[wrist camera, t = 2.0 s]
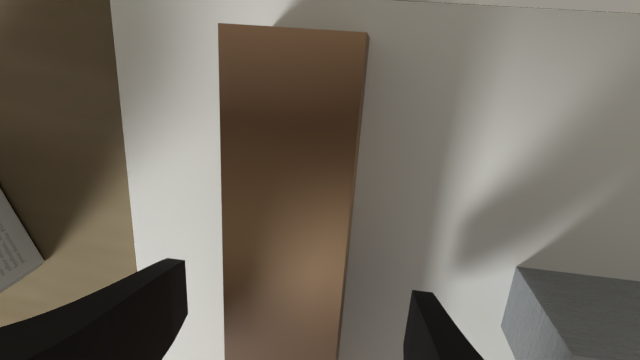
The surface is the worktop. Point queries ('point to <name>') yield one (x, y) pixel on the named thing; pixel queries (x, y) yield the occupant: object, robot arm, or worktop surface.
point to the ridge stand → (419, 169)
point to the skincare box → (15, 248)
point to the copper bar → (287, 185)
